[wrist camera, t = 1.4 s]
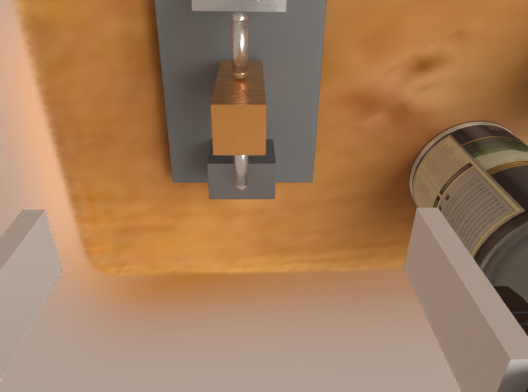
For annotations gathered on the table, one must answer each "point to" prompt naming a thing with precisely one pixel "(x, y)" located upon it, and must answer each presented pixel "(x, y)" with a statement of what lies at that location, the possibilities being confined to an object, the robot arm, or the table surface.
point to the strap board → (259, 49)
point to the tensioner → (259, 175)
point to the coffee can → (480, 196)
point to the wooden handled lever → (239, 90)
